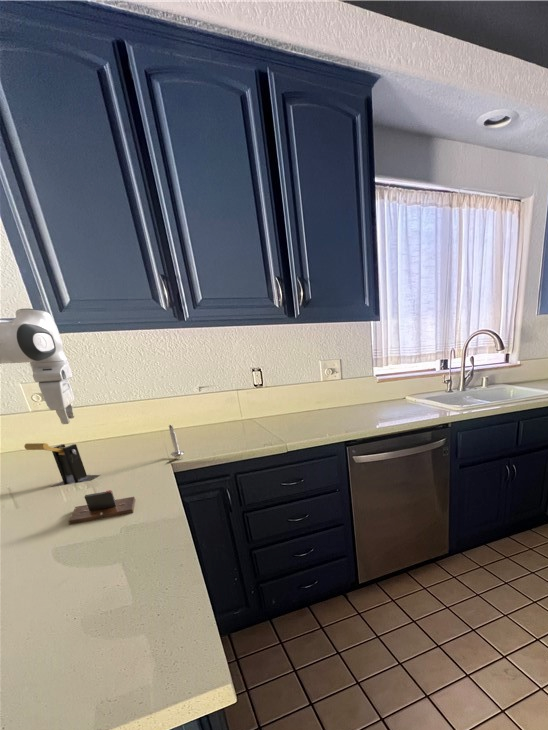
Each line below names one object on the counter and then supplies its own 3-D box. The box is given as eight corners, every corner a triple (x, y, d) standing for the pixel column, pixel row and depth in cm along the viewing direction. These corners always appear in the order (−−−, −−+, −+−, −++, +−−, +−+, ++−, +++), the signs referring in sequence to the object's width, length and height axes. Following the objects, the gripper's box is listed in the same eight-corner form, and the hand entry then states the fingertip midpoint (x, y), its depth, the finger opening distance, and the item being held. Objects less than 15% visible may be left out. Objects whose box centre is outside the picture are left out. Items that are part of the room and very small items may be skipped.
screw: (168, 460, 160) (178, 456, 164) (179, 460, 159) (188, 457, 163) (160, 425, 155) (169, 422, 159) (170, 426, 154) (180, 423, 158)
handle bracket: (77, 490, 134) (63, 451, 129) (51, 490, 135) (35, 451, 129) (101, 478, 144) (89, 441, 138) (77, 478, 145) (63, 441, 139)
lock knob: (89, 511, 110) (84, 496, 108) (90, 509, 111) (85, 494, 110) (115, 506, 112) (111, 491, 111) (116, 504, 114) (111, 489, 112)
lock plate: (72, 531, 106) (67, 520, 105) (79, 516, 115) (75, 506, 113) (135, 519, 112) (131, 508, 110) (137, 506, 120) (134, 495, 119)
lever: (43, 450, 124) (43, 441, 124) (24, 450, 124) (24, 442, 124) (77, 455, 136) (77, 448, 136) (60, 456, 136) (60, 448, 136)
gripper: (46, 370, 128) (61, 416, 134) (31, 376, 112) (49, 428, 117) (71, 368, 131) (85, 414, 137) (59, 374, 114) (76, 425, 120)
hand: (68, 420), depth 127 cm, fingers open, 8 cm apart
